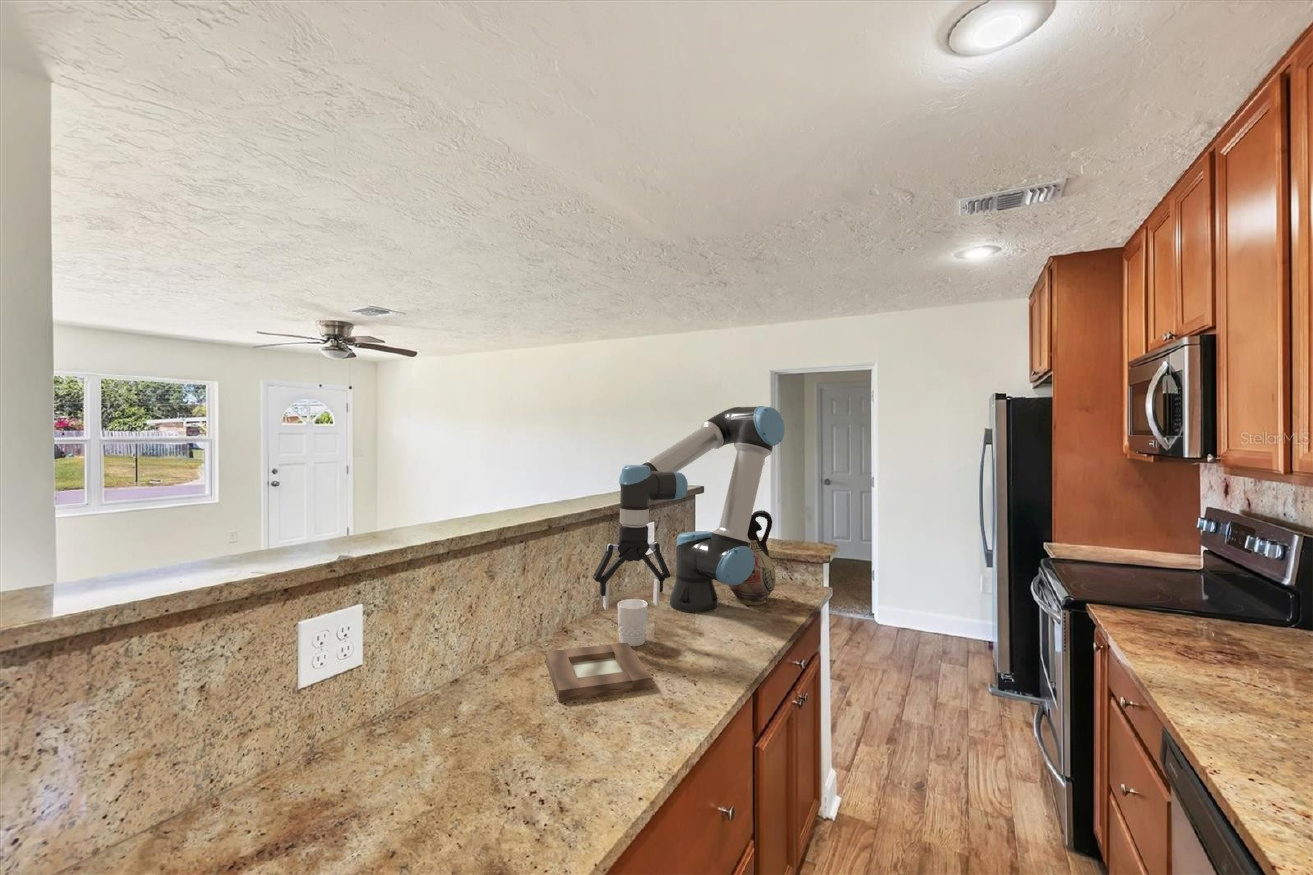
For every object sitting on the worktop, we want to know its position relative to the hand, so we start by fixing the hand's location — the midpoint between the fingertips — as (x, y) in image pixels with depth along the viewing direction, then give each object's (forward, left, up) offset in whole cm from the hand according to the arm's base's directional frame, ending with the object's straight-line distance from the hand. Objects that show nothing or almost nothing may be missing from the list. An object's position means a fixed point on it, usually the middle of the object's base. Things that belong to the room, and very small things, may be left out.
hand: (631, 606), depth 143 cm
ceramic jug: (-47, -21, -10) cm, 53 cm away
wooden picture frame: (+13, +16, -9) cm, 22 cm away
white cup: (0, 0, -10) cm, 10 cm away
